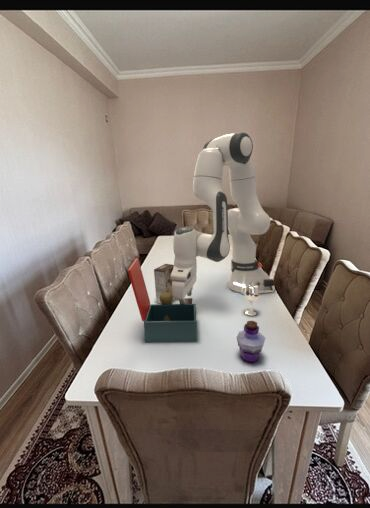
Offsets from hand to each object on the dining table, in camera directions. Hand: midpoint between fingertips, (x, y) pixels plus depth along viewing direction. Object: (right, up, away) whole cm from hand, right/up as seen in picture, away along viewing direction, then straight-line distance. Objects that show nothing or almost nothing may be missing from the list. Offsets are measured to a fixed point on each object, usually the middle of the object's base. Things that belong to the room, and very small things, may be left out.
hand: (186, 300), depth 102 cm
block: (0, -5, +2) cm, 6 cm away
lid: (-16, +7, -16) cm, 24 cm away
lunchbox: (-5, -9, -11) cm, 16 cm away
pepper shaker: (-7, -7, -4) cm, 11 cm away
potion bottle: (+20, -13, -25) cm, 35 cm away
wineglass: (+26, -5, -1) cm, 27 cm away
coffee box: (-9, -2, +13) cm, 16 cm away
